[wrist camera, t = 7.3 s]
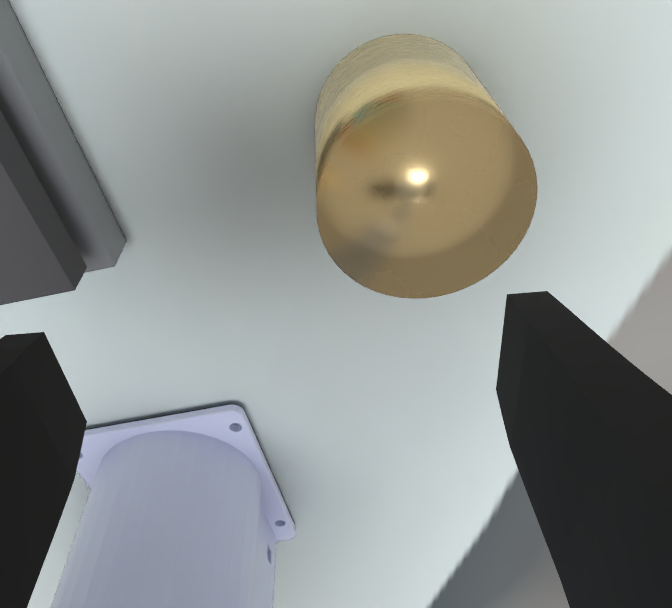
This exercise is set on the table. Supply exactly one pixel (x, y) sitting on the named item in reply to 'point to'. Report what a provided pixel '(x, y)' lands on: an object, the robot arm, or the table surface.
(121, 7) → the table surface
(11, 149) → the scale pan
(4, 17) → the scale
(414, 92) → the cylinder
